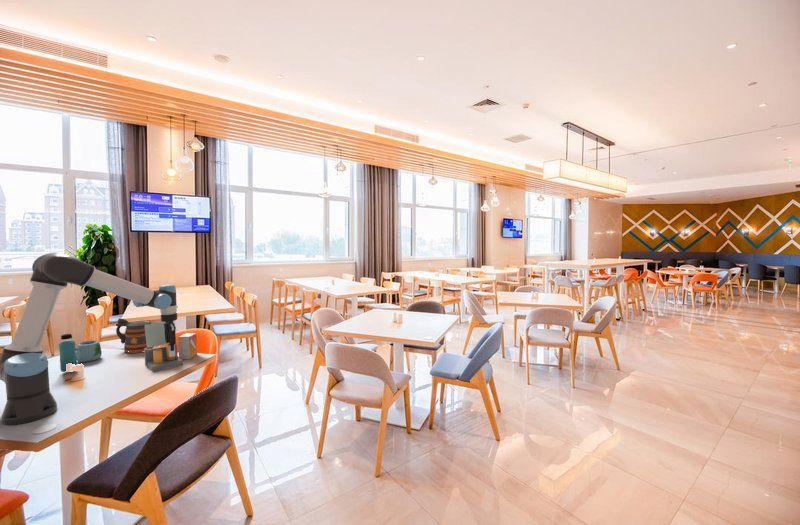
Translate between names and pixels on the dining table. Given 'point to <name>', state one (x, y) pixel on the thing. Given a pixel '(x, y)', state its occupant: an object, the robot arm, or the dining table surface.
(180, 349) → the small box
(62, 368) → the beverage bottle
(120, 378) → the dining table surface
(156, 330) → the lid
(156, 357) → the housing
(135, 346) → the beer stein
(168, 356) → the peg
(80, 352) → the mug
